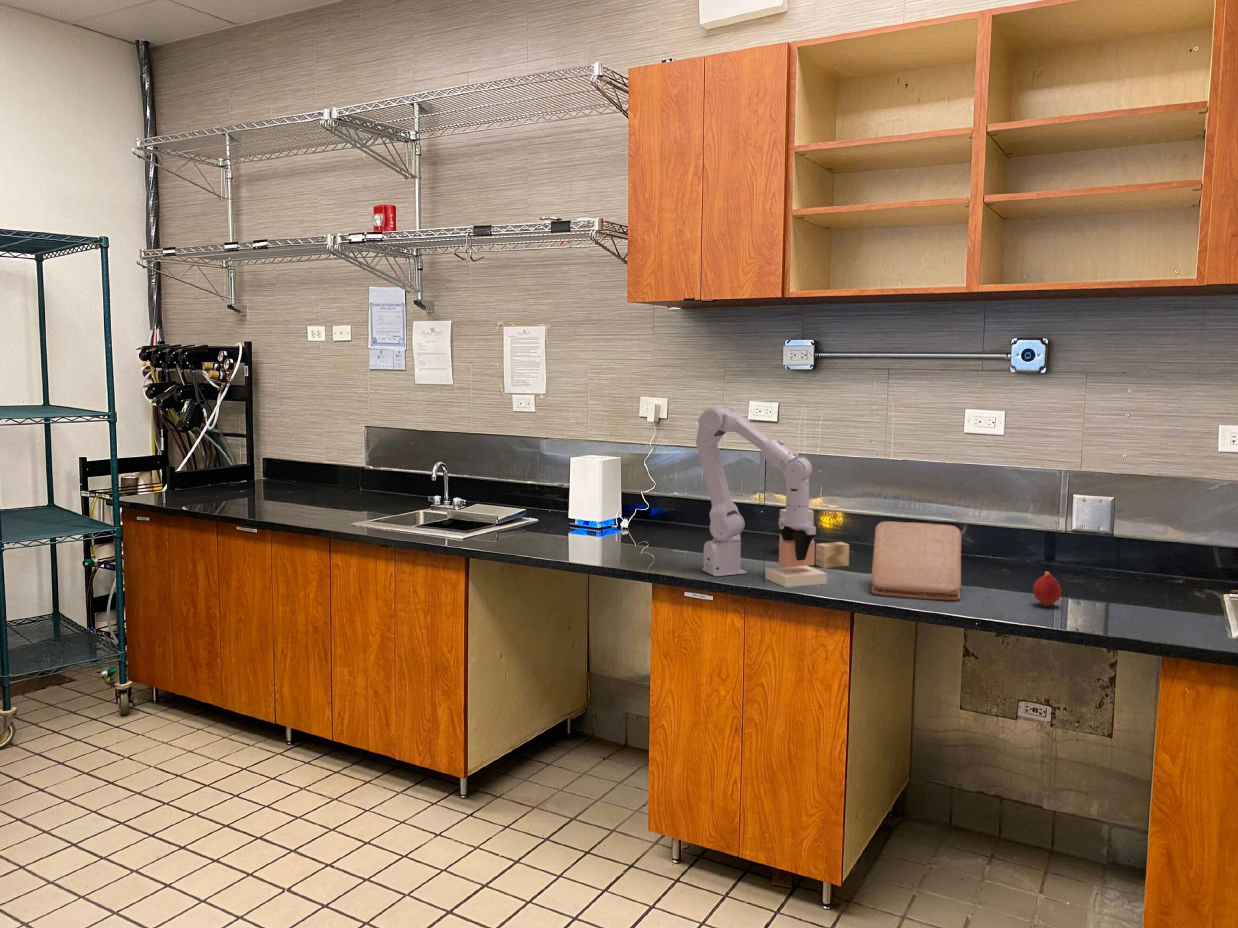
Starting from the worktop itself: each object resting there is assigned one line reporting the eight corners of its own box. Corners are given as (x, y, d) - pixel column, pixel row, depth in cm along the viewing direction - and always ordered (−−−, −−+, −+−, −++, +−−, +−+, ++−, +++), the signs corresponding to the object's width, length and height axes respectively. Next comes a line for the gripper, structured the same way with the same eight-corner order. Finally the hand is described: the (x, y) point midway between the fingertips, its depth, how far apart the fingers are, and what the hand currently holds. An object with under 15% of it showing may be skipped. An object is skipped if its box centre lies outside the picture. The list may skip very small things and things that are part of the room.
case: (869, 596, 214) (871, 530, 212) (875, 576, 233) (877, 516, 231) (960, 604, 207) (963, 536, 205) (959, 583, 226) (962, 521, 225)
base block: (785, 588, 222) (785, 577, 222) (765, 580, 231) (765, 568, 231) (826, 584, 226) (827, 573, 226) (805, 576, 235) (805, 565, 235)
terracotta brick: (787, 567, 225) (787, 543, 224) (778, 564, 229) (779, 541, 228) (814, 564, 228) (814, 541, 227) (805, 561, 232) (806, 538, 231)
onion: (1052, 602, 206) (1054, 568, 206) (1065, 609, 201) (1067, 574, 200) (1027, 602, 206) (1029, 569, 205) (1040, 609, 201) (1041, 574, 200)
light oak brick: (823, 568, 243) (824, 546, 243) (815, 565, 247) (816, 543, 246) (848, 565, 246) (849, 544, 245) (840, 562, 250) (840, 541, 249)
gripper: (826, 508, 221) (825, 562, 223) (795, 500, 235) (794, 551, 236) (802, 510, 219) (801, 564, 220) (772, 502, 232) (771, 553, 234)
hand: (796, 557), depth 228 cm, fingers open, 4 cm apart
